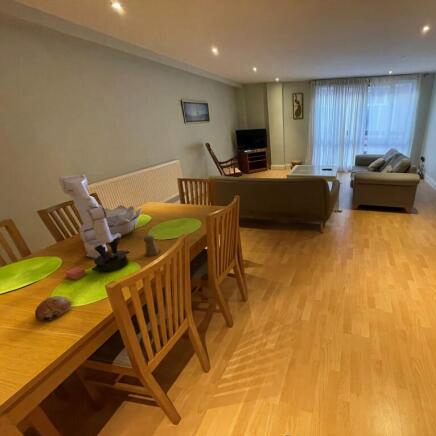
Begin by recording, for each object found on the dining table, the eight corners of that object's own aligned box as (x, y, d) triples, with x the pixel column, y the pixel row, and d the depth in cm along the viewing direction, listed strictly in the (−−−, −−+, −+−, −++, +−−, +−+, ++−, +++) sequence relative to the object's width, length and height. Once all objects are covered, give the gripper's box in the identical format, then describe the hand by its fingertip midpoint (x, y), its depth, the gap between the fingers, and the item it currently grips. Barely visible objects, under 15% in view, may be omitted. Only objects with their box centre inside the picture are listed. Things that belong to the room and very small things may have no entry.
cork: (145, 256, 131) (140, 238, 127) (148, 251, 136) (143, 233, 132) (157, 255, 132) (153, 237, 128) (159, 249, 138) (155, 232, 134)
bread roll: (77, 312, 97) (78, 292, 98) (53, 322, 87) (54, 300, 88) (52, 313, 97) (53, 293, 98) (25, 323, 87) (26, 300, 87)
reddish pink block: (67, 277, 114) (65, 272, 113) (78, 272, 118) (75, 267, 116) (76, 279, 112) (74, 274, 111) (86, 274, 116) (84, 269, 115)
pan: (86, 273, 117) (83, 265, 115) (120, 255, 133) (118, 247, 131) (104, 277, 113) (102, 269, 112) (137, 258, 129) (135, 251, 127)
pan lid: (88, 263, 118) (84, 255, 116) (114, 250, 129) (111, 242, 128) (107, 268, 114) (104, 259, 112) (133, 254, 125) (130, 246, 124)
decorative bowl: (99, 250, 137) (91, 226, 132) (83, 236, 154) (75, 214, 148) (153, 232, 160) (148, 211, 154) (134, 221, 176) (129, 202, 171)
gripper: (92, 239, 108) (101, 264, 113) (122, 226, 121) (129, 250, 126) (81, 236, 110) (90, 262, 115) (112, 224, 123) (119, 248, 128)
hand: (110, 255), depth 121 cm, fingers open, 4 cm apart
